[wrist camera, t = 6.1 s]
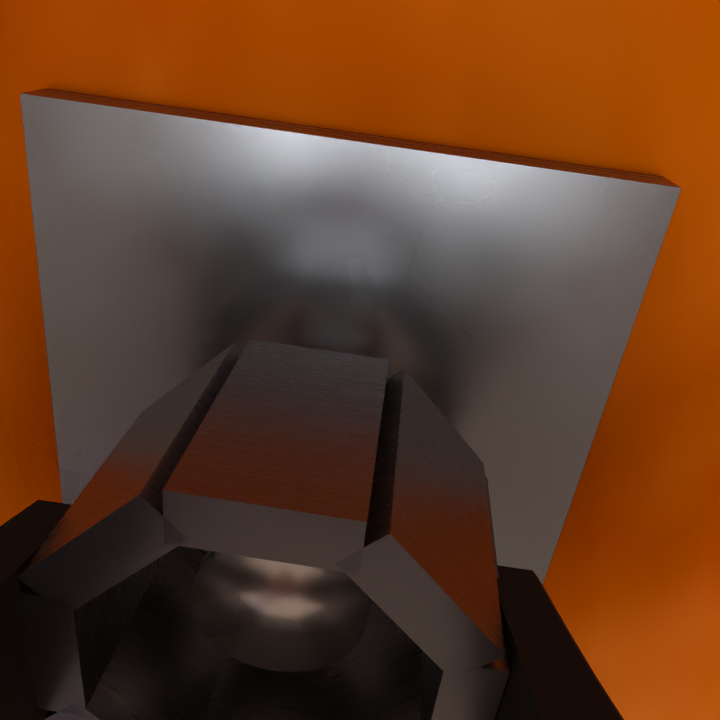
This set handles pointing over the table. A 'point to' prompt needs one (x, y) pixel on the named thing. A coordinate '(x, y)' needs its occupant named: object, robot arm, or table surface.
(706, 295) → the table surface
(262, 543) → the ring
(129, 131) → the square steel plate
